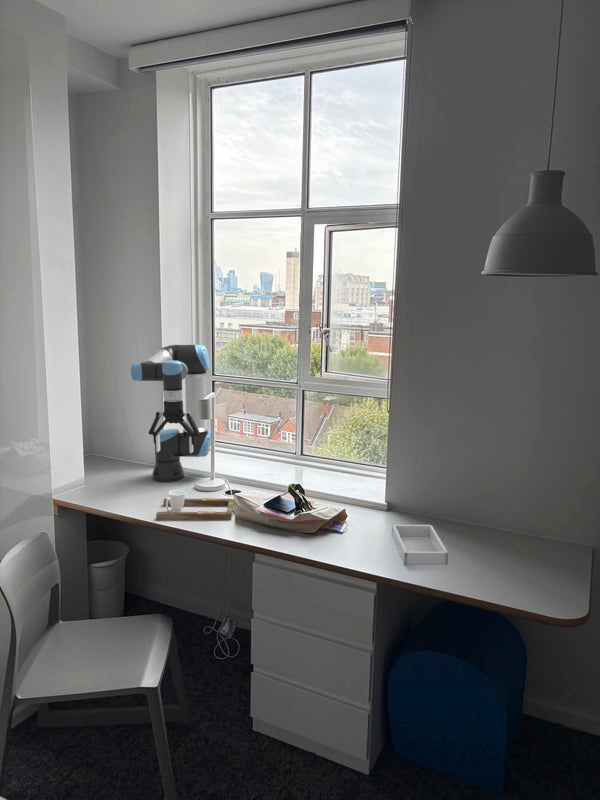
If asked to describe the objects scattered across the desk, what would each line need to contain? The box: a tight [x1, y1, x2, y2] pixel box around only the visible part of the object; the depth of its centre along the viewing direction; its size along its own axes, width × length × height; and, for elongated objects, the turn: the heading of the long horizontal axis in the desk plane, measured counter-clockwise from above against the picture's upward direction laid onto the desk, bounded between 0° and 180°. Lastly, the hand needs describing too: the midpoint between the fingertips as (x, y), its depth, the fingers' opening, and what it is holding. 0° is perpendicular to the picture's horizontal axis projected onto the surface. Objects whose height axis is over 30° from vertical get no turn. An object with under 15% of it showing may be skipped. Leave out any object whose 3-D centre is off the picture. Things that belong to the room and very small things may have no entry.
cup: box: [165, 489, 186, 512], centre depth 254 cm, size 7×10×8 cm
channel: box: [155, 497, 235, 521], centre depth 255 cm, size 17×30×3 cm, turn 92°
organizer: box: [391, 524, 449, 566], centre depth 221 cm, size 24×15×4 cm, turn 2°
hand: (174, 451), depth 246 cm, fingers open, 13 cm apart
